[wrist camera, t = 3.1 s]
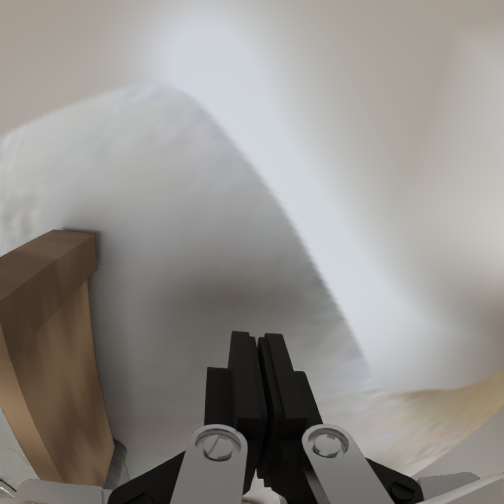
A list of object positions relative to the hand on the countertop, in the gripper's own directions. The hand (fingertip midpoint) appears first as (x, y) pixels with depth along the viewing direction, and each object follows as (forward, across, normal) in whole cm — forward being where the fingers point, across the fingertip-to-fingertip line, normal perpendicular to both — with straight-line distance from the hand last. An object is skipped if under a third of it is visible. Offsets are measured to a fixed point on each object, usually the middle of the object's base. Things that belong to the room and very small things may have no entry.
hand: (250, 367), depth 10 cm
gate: (+5, +8, +4) cm, 11 cm away
